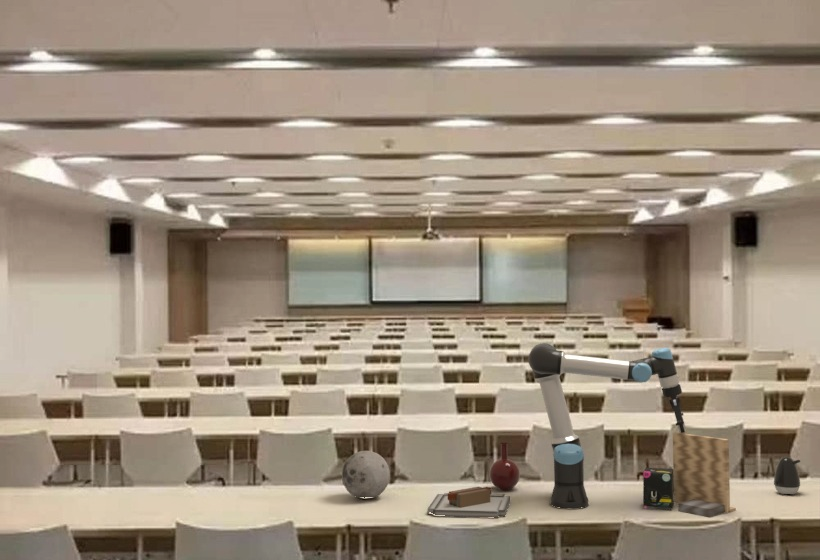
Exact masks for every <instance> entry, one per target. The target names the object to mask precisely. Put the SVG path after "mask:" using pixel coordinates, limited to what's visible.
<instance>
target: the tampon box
mask: <svg viewBox="0 0 820 560" xmlns="http://www.w3.org/2000/svg"><path fill="white" fill-rule="evenodd" d="M642 473H643V474H642V475H643V476H642V477H643V487H642V488H643V491H642V492H643V493H642V494H643V500H642V501H643V504H642V505H643V509H644V510H645V509H647V510H660V511H672V509H673V508H674V505H675V503H674V480H673V468H663V467H662V468H661V467H660V468H659V467H646V468H644V470H643V472H642Z"/></svg>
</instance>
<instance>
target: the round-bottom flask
mask: <svg viewBox="0 0 820 560" xmlns="http://www.w3.org/2000/svg"><path fill="white" fill-rule="evenodd" d="M508 444H509V443H508V442H500V449H501V450H500V452H501V453H500V457H501V458H499V459H497V460H496V461H495V462H494V463H493V462H492V464H491V466H490V469H489V479H490V480H489V481H490V482H491V484H492V485H493V486H494V487H495V488H497V489H499V490H502V491H507V490H510V489H513V488H514V487H516V486H517V484H518V483H519V482H520V478H521V471H520V468H519V466H518V464H517V463H516V462H515V461H513V460H511V459H509V458H508Z"/></svg>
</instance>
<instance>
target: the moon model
mask: <svg viewBox="0 0 820 560" xmlns="http://www.w3.org/2000/svg"><path fill="white" fill-rule="evenodd" d="M390 474H391V473H390V468H389V465H388V463H387V461H386V460H385V458H383V457H382V455H380V454H379V453H377V452H374V451H372V450H361V451H358V452H355V453H354V454H352V455H350V456H349V457H348V458H347V460H346V461H345V463H344V465H343V467H342V471H341V481H342V484H343V485H344V488H345V490H346V491H347V492H348V493H349V494H350V495H352V496H353V497H355V496H356V497H355V498H357V497H364V498H365V497H375V498H376V496H377V497H378V496H380V495H381V494H383V492H384V491H385V490H386V489H387V487H388V485H389V482H390V478H391V476H390Z"/></svg>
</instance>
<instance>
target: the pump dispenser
mask: <svg viewBox="0 0 820 560" xmlns="http://www.w3.org/2000/svg"><path fill="white" fill-rule="evenodd" d="M798 463H801V460H800V459H796V460H793V458H791V457H789V456H784V457H782V458H780V460H779V462H778V463H777V465H776V467H775V472H774V477H773V485H774V488H775V490H776V491H777V492H778V493H779V494H781V495H784V494H793V495H795V494H797V493H798V491H799V489H800V487H801V480H800V474H799V471H798V468H797V465H796V464H798Z"/></svg>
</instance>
